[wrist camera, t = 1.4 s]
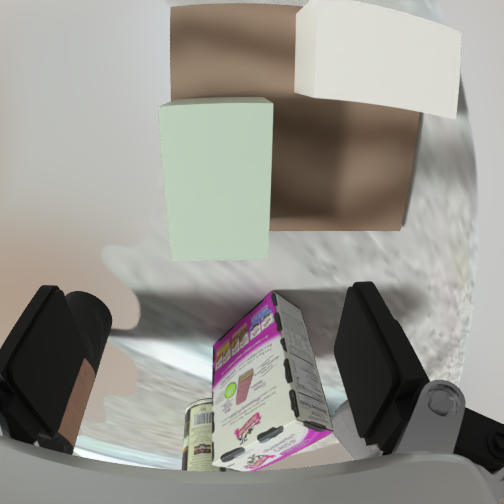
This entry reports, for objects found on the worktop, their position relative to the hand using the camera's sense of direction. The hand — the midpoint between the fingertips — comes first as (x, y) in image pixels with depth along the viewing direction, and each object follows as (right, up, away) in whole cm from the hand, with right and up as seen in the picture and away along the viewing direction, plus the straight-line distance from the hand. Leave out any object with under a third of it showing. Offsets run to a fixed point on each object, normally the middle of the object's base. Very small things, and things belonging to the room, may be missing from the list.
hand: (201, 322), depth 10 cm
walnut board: (+6, +14, +16) cm, 22 cm away
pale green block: (-1, +10, +17) cm, 20 cm away
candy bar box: (+2, -7, +28) cm, 29 cm away
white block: (+11, +18, +13) cm, 25 cm away
